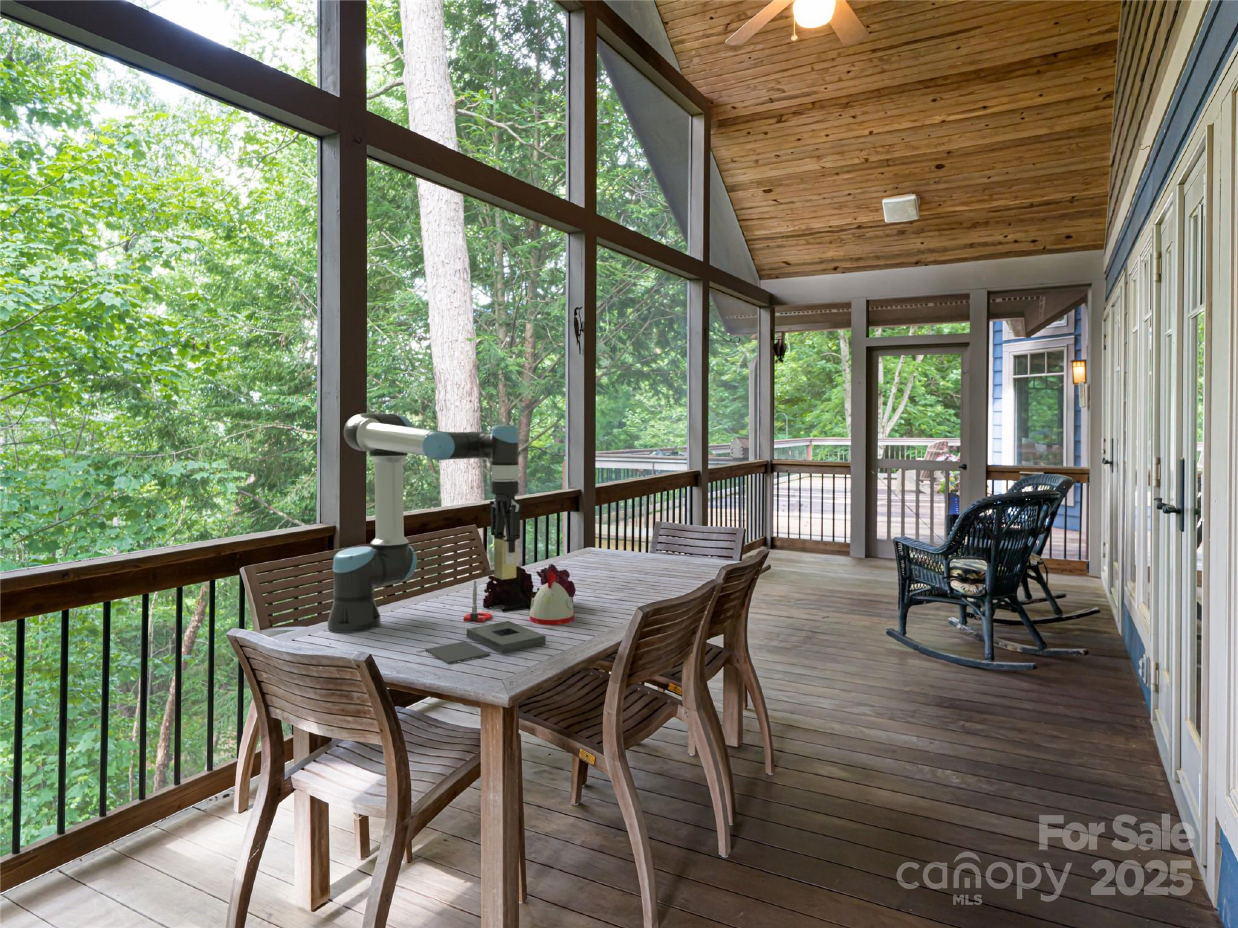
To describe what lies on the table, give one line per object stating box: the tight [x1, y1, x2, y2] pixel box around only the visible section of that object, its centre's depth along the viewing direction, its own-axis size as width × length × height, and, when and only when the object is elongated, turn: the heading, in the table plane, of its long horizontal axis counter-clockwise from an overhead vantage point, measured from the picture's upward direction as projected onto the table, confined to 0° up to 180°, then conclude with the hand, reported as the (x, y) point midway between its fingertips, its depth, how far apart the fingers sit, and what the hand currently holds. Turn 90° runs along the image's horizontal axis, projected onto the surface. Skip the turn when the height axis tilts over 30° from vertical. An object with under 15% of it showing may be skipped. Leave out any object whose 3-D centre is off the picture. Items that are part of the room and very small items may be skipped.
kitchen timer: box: [529, 572, 575, 626], centre depth 229 cm, size 14×14×15 cm
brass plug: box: [493, 536, 517, 580], centre depth 204 cm, size 4×4×11 cm
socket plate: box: [466, 620, 547, 655], centre depth 205 cm, size 20×14×2 cm
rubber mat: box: [424, 640, 491, 665], centre depth 194 cm, size 14×12×1 cm
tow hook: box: [463, 579, 493, 623], centre depth 230 cm, size 8×13×9 cm
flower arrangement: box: [482, 563, 577, 613], centre depth 247 cm, size 31×20×15 cm, turn 82°
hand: (505, 562), depth 204 cm, fingers closed on brass plug, 4 cm apart
